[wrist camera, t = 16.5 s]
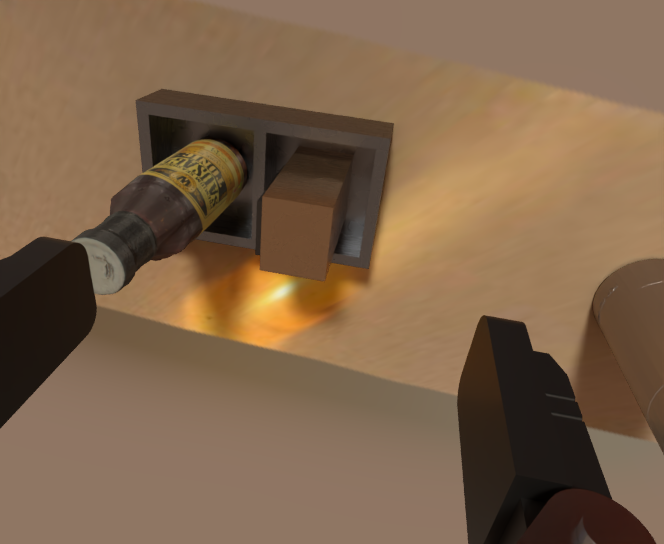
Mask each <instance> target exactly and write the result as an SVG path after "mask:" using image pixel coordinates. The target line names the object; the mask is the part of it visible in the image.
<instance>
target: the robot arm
mask: <svg viewBox="0 0 664 544" xmlns="http://www.w3.org/2000/svg"><path fill="white" fill-rule="evenodd" d="M96 309H97V307H96V300H95V294H94V288H93V283H92V277H91V271H90V265H89V259H88V254H87V251H86V249H85V247H84V246H83V245H82V244H80V243H77V242H71V241H66V240H60V239H54V238H49V237H39V238H37V239H35V240H34V241H32V242H31V243H29V244H28V245H26V246H25V247H23V248H22V249H20V250H19V251H18V252H16V253H15V254H13V255H12V256H10V257H7V258H5V259H2V260H0V428H1V427H2V426H3V425H4V424H5V423H6V422H7V421H8V420H9V419H10V418H11V417H12V415H13V414H14V413H15V412H16V411H17V410H18V409H19V408H20V407H21V406H22V405H23V404H24V403H25V401H26V400H27V399H28V398H29V397H30V396H31V395H32V394H33V393H34V392H35V391H36V390H37V389H38V388H39V386H40V385H41V384H42V383H43V382H44V381H45V380H46V379H47V378H48V377H49V376H50V375H51V374H52V372H53V371H54V370H55V369H56V368H57V367H58V366H59V365H60V364H61V363H62V362H63V361H64V360H65V359H66V358H67V356H68V355H69V354H70V353H71V352H72V351H73V350H74V349H75V348H76V347H77V346H78V345H79V344H80V342H81V341H82V340H83V339H84V338H85V337H86V336H87V335H88V334H89V332H90V331H91V329H92V326H93V324H94V321H95V318H96ZM593 312H594V316H595V318H596V320H597V322H598V324H599V326H600V328H601V330H602V332H603V334H604V336H605V338H606V340H607V343H608V345H609V347H610V349H611V351H612V353H613V355H614V357H615V359H616V361H617V363H618V365H619V367H620V369H621V371H622V373H623V375H624V377H625V379H626V381H627V383H628V385H629V387H630V389H631V391H632V393H633V395H634V397H635V399H636V401H637V403H638V405H639V407H640V408H641V410H642V412H643V414H644V416H645V418H646V420H647V422H648V424H649V426H650V428H651V430H652V432H653V434H654V436H655V438H656V440H657V442H658V444H659V446H660V448H661V450H662V452H663V454H664V259H648V260H642V261H637V262H634V263H631V264H628V265H626V266H624V267H622V268H620V269H618V270H617V271H615V272H614V273H613V274H611V275H610V276H609V277H607V278H606V280H605V281H604V282H603V283H602V284H601V285H600V287H599V289H598V290H597V292H596V294H595V297H594V300H593ZM457 406H458V420H459V432H460V443H461V457H462V470H463V482H464V495H465V508H466V520H467V533H468V544H656V542H655V541H654V539H653V537H652V536H651V534H650V533H649V531H648V530H647V529H646V527H645V526H644V525H643V524H642V523H641V522H640V521H639V520H638V519H637V518H636V517H635V516H634V515H633V514H632V513H631V512H629V511H628V510H627V509H626V508H624V507H623V506H622V505H620V504H618V503H617V502H615V501H614V500H612V497H611V495H610V492H609V489H608V486H607V484H606V481H605V478H604V475H603V473H602V470H601V467H600V464H599V462H598V459H597V456H596V453H595V450H594V448H593V445H592V442H591V439H590V436H589V434H588V431H587V428H586V425H585V423H584V422H582V414H581V412H580V409H579V406H578V403H577V402H575V395H574V392H573V389H572V387H571V384H570V381H569V378H568V376H567V374H566V373H565V372H564V371H563V369H562V368H561V367H560V366H559V365H558V364H557V363H556V361H555V360H554V359H553V358H552V357H551V356H550V354H547V353H542V352H536V351H533V349H532V345H531V342H530V339H529V335H528V332H527V328H526V326H525V324H524V323H523V322H519V321H514V320H508V319H502V318H497V317H491V316H485V315H483V316H482V317H481V318H480V320H479V323H478V325H477V328H476V331H475V334H474V337H473V341H472V344H471V347H470V350H469V353H468V356H467V359H466V362H465V365H464V368H463V371H462V375H461V378H460V383H459V389H458V400H457Z"/></svg>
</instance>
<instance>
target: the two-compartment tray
mask: <svg viewBox="0 0 664 544" xmlns="http://www.w3.org/2000/svg"><path fill="white" fill-rule="evenodd" d="M136 109H137V119H138V130H139V140H140V151H141V161H142V171H143V173H144V172H146V171H147V170H149V169H151V168H152V167H154V166H155V165H157V164H159V163H160V162H162V161H163V160H165V159H166V158H168V157H170V156H171V155H173V154H175V153H176V152H178V151H179V150H181V149H182V148H184V147H186V146H187V145H189V144H190V143H192V142H194V141H197V140H201V139H205V138H208V137H211V138H215V139H220V140H224V141H226V142H228V143H230V144H232V145H233V146H234V147H235V148H236V149H238V151H239V153H240V154H241V155H242V157H243V159H244V161H245V164H246V167H247V179H246V184H245V186H244V188H243V189H242V191H241V192H240V194H239V195H238V197H237V198H236V199H235V200H234V201H233V202H232V203H231V204H230V205H229V206H228V207H227V208H226V209H225V210H224V211H223V212H222V213H221V214H220V215H219V216H218V217H217V218H216V219H215V220H214V221H213V222H212V223H211V224H210V225H209V226H208V227H207V228H206V229H205V230H204V231H203V232H202V233H201V234H200V235H199V236H198V237H197V238H196V239H197V240H203V241H209V242H215V243H221V244H226V245H232V246H238V247H244V248H250V249H255V255H260V270H262V271H268V272H274V273H279V274H285V275H291V276H297V277H302V278H308V279H314V280H319V281H325V279H326V276H327V273H328V270H329V267H330V264H331V263H337V264H343V265H348V266H354V267H360V268H366V269H369V264H370V259H371V253H372V248H373V242H374V236H375V230H376V225H377V219H378V213H379V207H380V201H381V195H382V189H383V183H384V178H385V172H386V166H387V160H388V154H389V148H390V142H391V136H392V130H393V125H394V123H387V122H380V121H374V120H367V119H360V118H353V117H347V116H340V115H333V114H327V113H320V112H313V111H306V110H300V109H293V108H286V107H279V106H273V105H266V104H259V103H253V102H246V101H239V100H232V99H226V98H219V97H212V96H206V95H199V94H192V93H185V92H179V91H172V90H165V89H161V90H158V91H156V92H154V93H151V94H149V95H147V96H144V97H142V98H140V99H138V100H136Z"/></svg>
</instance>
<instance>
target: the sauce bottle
mask: <svg viewBox="0 0 664 544" xmlns="http://www.w3.org/2000/svg"><path fill="white" fill-rule="evenodd" d="M246 179H247V167H246V164H245V161H244V159H243V157H242V155H241V154H240V153H239V151H238V149H236V148H235V147H234V146H233V145H232V144H230V143H228V142H226V141H224V140H220V139H215V138H211V137H208V138H205V139H201V140H197V141H194V142H192V143H190V144H189V145H187V146H186V147H184V148H182V149H181V150H179V151H178V152H176V153H175V154H173V155H171V156H170V157H168V158H166V159H165V160H163V161H162V162H160V163H159V164H157V165H155V166H154V167H152V168H151V169H149V170H147V171H146V172H144V173H142V174H141V175H139V176H138V177H136V178H135V179H134V180H133V181H131V182H130V183H129V184H128V185H127V186H125V187H124V188H123V189H122V190H121V191H119V192H118V193H117V194H116V195H114V196H113V198H112V199H111V206H110V216H108V217H107V218H106V219H105V220H104V222H102V223H101V224H100V225H98V226H97V227H96V228H94V229H89V230H86V231H84V232H82V233H81V234H80V235H78V236H77V237H76V238H75V239H73V240H72V241H71V242H77V243H80V244H82V245H83V246H84V247H85V249H86V251H87V254H88V259H89V265H90V271H91V277H92V283H93V288H94V293H96V294H100V295H106V294H113V293H116V292H118V291H120V290H121V289H122V288H123V287H124V286H126V285H127V284H129V283H130V281H131V280H132V279H133V277H134V275H135V272H136V271H137V270H138V269H139V268H140V267H141V266H142V265H144V264H145V263H147V262H148V261H150V260H154V261H157V260H161V259H164V258H168V257H170V256H172V255H174V254H177V253H179V252H181V251H182V250H183V249H185V247H186V246H187V245H188V244H189V243H190V242H192V241H193V240H195V239H196V238H197V237H198V236H199V235H200V234H201V233H202V232H203V231H204V230H205V229H206V228H207V227H208V226H209V225H210V224H211V223H212V222H213V221H214V220H215V219H216V218H217V217H218V216H219V215H220V214H221V213H222V212H223V211H224V210H225V209H226V208H227V207H228V206H229V205H230V204H231V203H232V202H233V201H234V200H235V199H236V198H237V197H238V195H239V194H240V192H241V191H242V189H243V188H244V186H245V184H246Z"/></svg>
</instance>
